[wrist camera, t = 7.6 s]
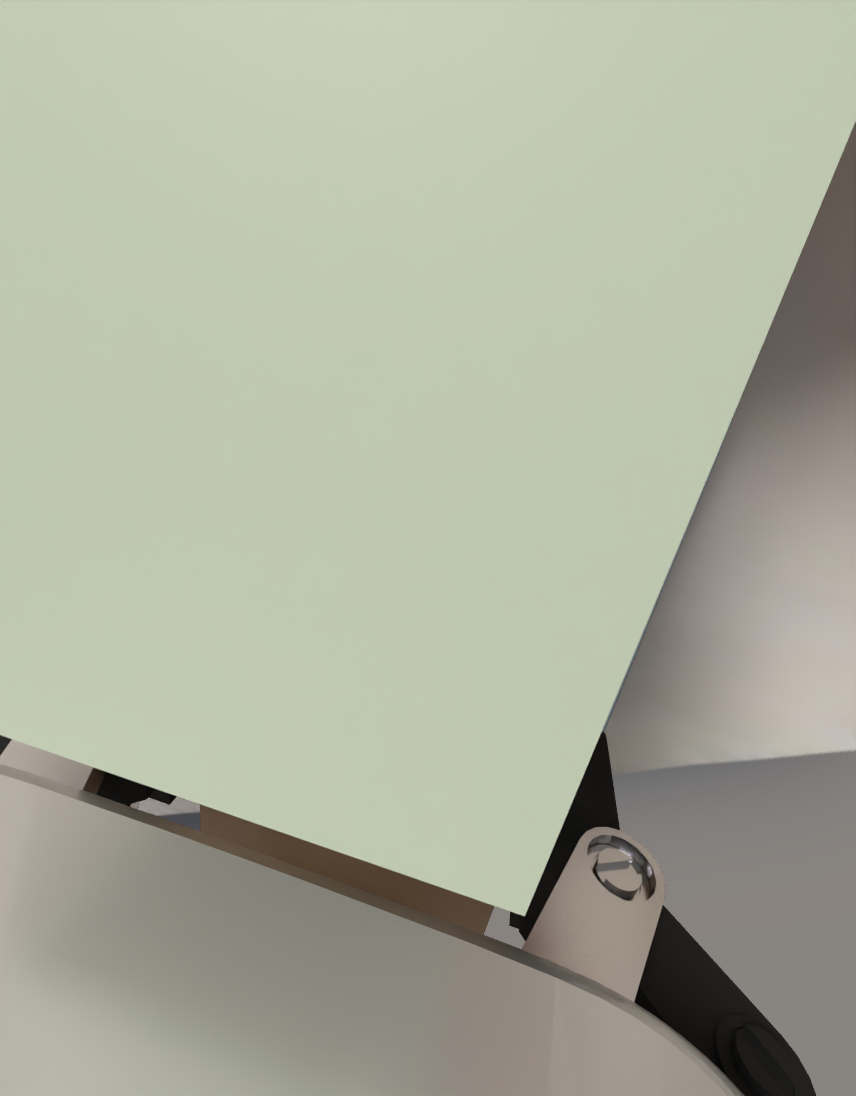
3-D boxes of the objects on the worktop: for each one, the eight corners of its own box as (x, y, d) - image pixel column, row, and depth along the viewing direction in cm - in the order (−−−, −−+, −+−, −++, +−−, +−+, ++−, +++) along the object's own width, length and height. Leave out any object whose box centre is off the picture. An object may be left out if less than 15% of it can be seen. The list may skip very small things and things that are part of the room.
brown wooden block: (349, 69, 9) (186, -153, 5) (715, 117, 8) (876, -105, 4) (279, 873, 18) (203, 1022, 14) (447, 933, 18) (416, 1110, 14)
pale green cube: (260, 164, 6) (-381, -234, 2) (649, 223, 5) (977, -172, 1) (250, 516, 8) (-82, 707, 4) (538, 590, 7) (524, 916, 3)
